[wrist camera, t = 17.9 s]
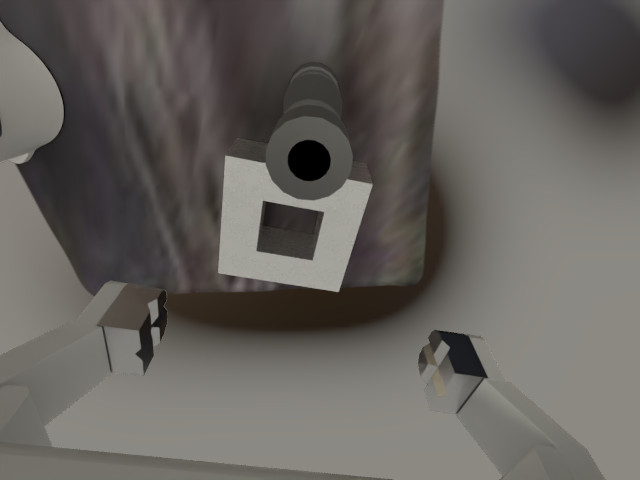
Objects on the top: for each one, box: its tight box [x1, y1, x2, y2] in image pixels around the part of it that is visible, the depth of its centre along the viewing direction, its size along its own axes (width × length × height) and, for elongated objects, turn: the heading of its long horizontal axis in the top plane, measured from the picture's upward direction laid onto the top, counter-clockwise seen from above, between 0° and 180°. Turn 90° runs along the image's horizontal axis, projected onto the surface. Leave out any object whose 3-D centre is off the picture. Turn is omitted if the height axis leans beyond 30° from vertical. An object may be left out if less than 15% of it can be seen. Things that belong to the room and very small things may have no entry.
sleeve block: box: [218, 138, 373, 292], centre depth 49 cm, size 18×18×7 cm
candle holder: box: [266, 62, 353, 201], centre depth 33 cm, size 6×6×25 cm
